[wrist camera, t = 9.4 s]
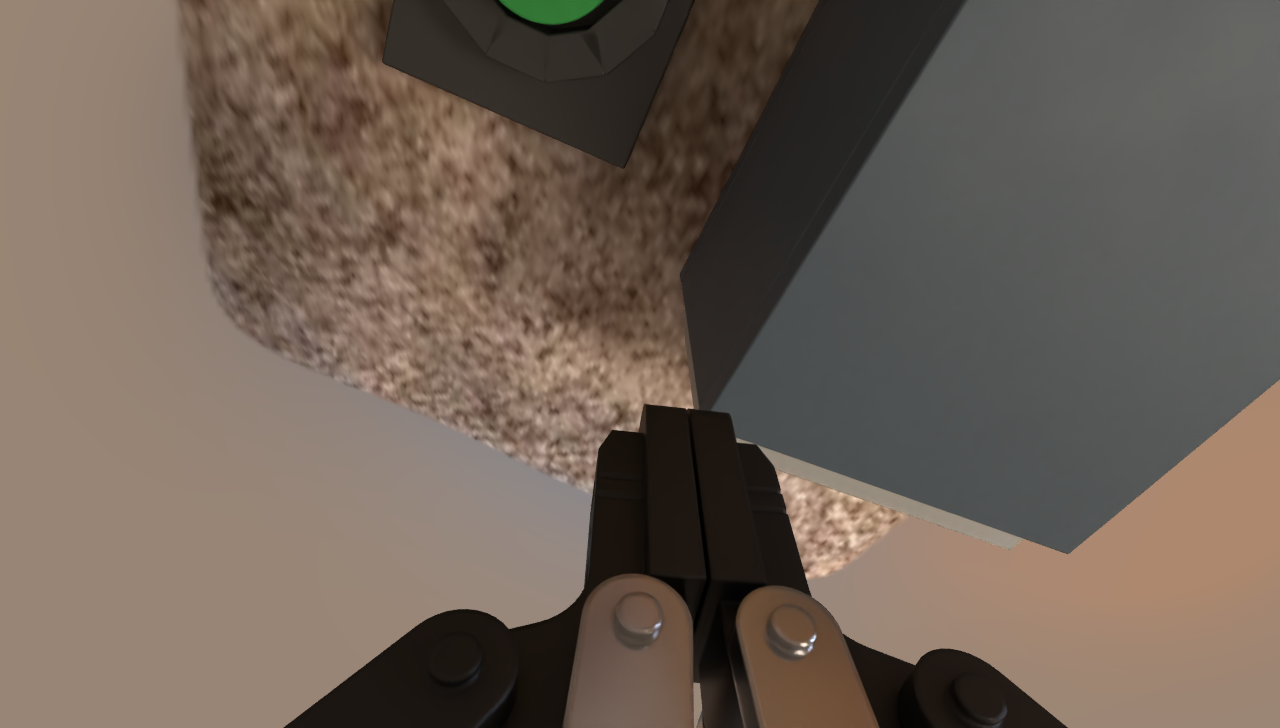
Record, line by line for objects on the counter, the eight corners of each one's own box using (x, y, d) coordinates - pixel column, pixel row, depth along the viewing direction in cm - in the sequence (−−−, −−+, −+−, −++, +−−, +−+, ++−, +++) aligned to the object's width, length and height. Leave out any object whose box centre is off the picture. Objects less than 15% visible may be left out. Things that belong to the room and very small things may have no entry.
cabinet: (937, 380, 27) (1068, 555, 18) (679, 274, 24) (700, 426, 16) (1229, 34, 19) (1651, 74, 11) (907, -173, 17) (1160, -316, 9)
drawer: (900, 428, 27) (985, 573, 20) (668, 339, 24) (678, 472, 18) (1177, 101, 20) (1447, 163, 13) (886, -71, 17) (1040, -102, 11)
